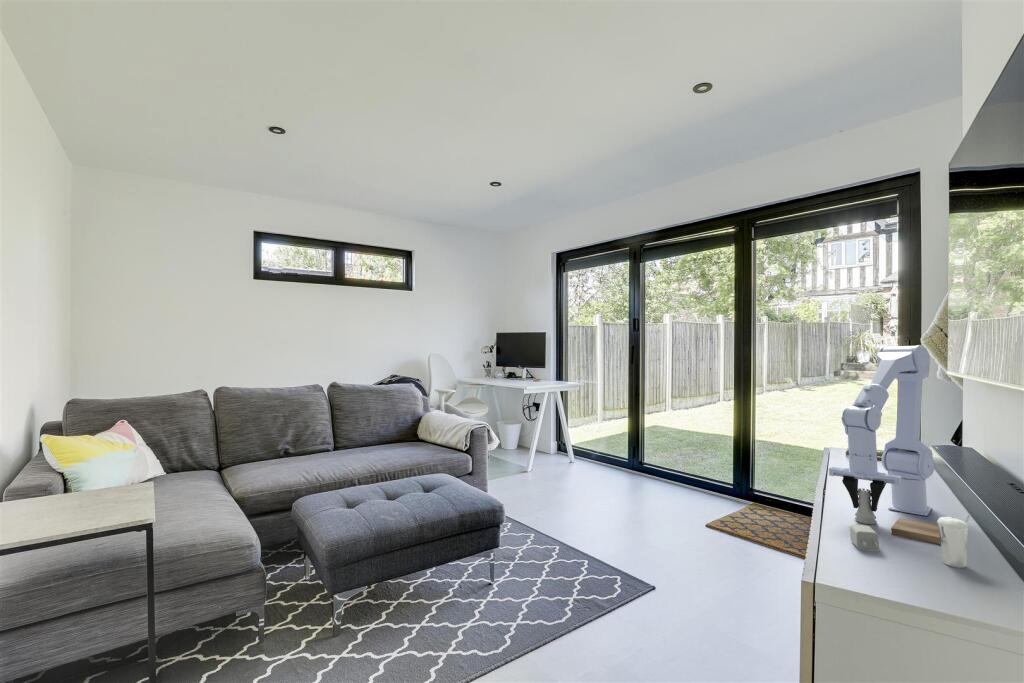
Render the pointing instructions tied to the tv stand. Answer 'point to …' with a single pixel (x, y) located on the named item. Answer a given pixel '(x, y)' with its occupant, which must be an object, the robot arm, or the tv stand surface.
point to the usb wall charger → (864, 537)
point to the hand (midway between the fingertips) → (865, 508)
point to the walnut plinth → (916, 530)
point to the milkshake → (953, 540)
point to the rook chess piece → (865, 508)
